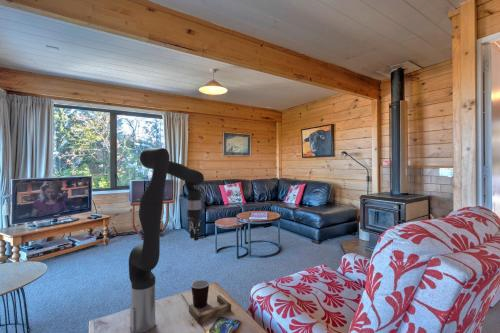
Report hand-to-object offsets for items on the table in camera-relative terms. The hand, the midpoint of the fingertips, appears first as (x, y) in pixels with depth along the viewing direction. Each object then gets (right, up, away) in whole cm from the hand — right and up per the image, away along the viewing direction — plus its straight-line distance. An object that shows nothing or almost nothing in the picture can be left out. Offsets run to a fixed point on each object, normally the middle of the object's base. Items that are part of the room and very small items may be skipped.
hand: (194, 239), depth 136 cm
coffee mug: (+7, -27, -15) cm, 32 cm away
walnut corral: (+13, -27, -22) cm, 37 cm away
